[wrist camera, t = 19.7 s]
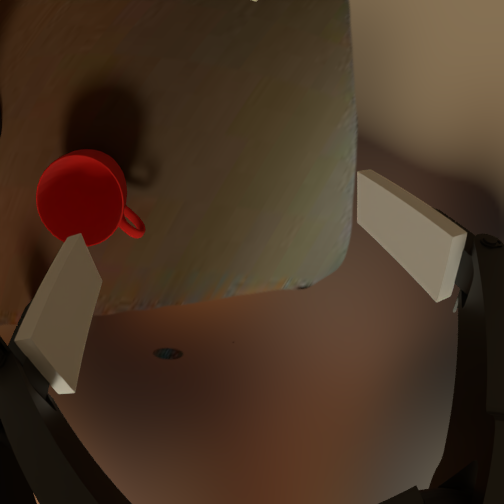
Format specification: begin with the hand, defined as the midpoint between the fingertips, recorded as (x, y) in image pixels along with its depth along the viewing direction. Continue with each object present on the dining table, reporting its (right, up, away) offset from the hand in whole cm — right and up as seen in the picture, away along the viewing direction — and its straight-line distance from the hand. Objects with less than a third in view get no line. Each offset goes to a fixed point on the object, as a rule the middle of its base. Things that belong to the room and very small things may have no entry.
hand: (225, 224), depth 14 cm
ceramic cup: (-22, +9, +31) cm, 39 cm away
